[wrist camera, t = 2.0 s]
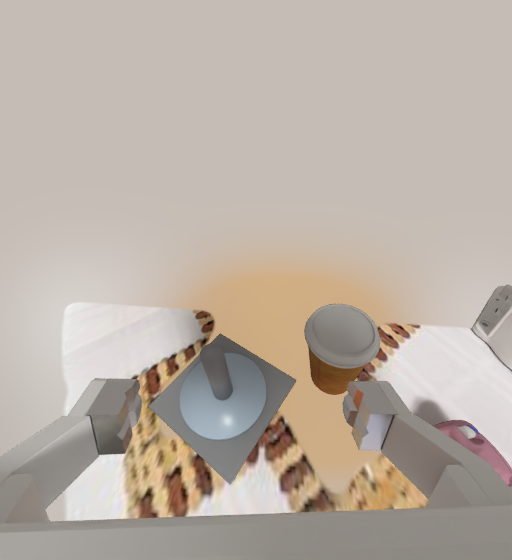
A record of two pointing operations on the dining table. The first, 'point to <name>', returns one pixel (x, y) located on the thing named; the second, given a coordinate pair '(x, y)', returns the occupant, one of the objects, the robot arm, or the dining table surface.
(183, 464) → the dining table surface
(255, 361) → the mat
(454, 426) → the video game controller
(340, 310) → the disposable coffee cup
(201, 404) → the lid
